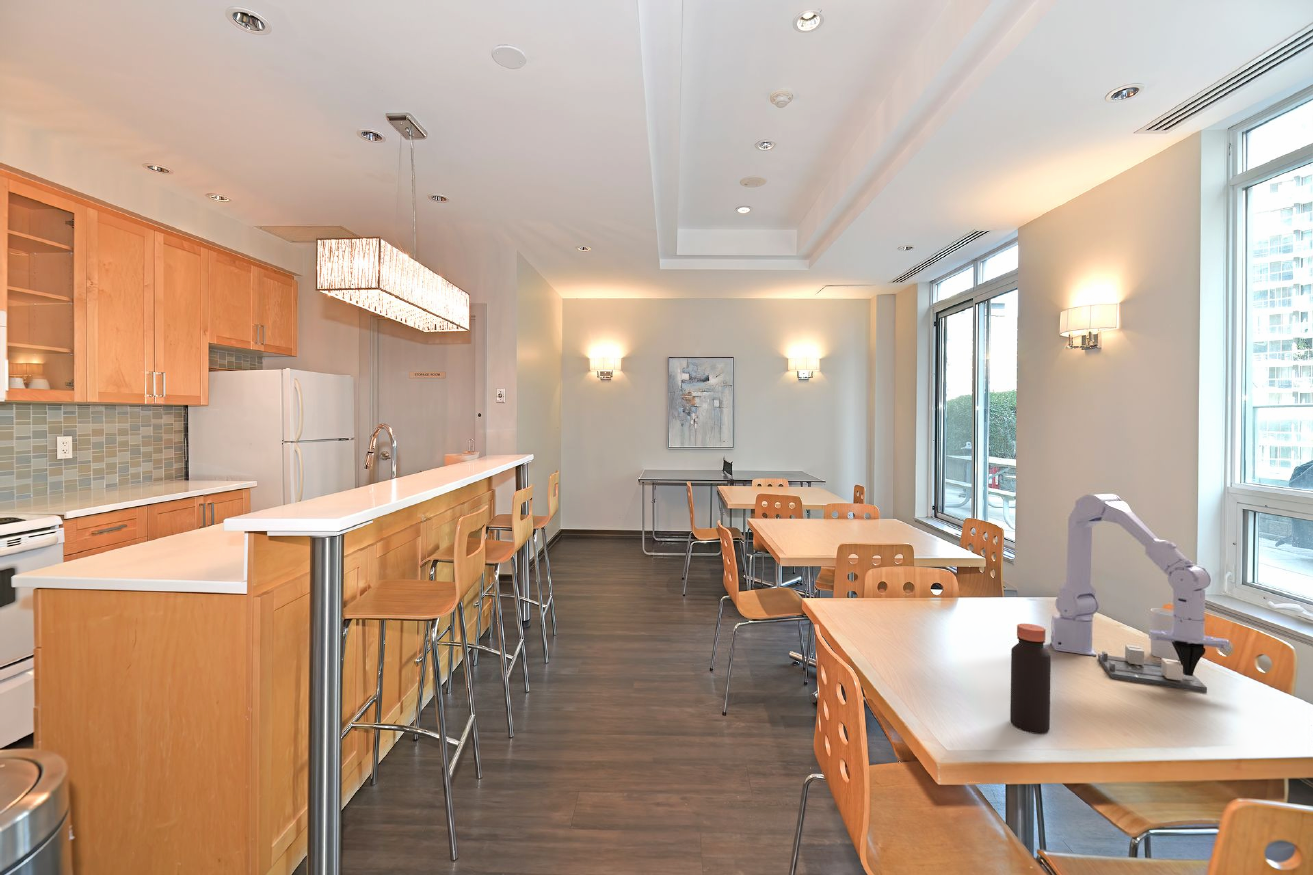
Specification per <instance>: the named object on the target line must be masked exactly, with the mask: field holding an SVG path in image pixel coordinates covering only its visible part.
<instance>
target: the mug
mask: <svg viewBox="0 0 1313 875" xmlns="http://www.w3.org/2000/svg"><path fill="white" fill-rule="evenodd" d="M1149 621H1150V623H1149V624H1150V628H1149V629H1150V630H1154V631H1173V609H1172V610H1171V609H1166V608H1151V609H1150V620H1149ZM1150 654H1151V655H1152V656H1154V657H1155V658H1158V657H1159V659H1162V658H1164V659H1171V660H1177V661H1180V660H1179V657H1178V655H1177V652H1176V650H1175V648H1174V646H1173V645H1172V642H1169V641H1161V640H1156V641H1155V640H1151V639H1150Z"/></svg>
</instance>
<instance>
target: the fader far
mask: <svg viewBox="0 0 1313 875" xmlns="http://www.w3.org/2000/svg"><path fill="white" fill-rule="evenodd" d="M1124 646H1125V648H1124V650H1125V652H1124V658H1125V659H1126V660H1127V661H1128V662H1129V663H1130V664H1138V665H1144V660H1145V651H1144V650H1143V649H1142V647H1141V646H1137V645H1131V644H1130V645H1129V644H1125V645H1124Z"/></svg>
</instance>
